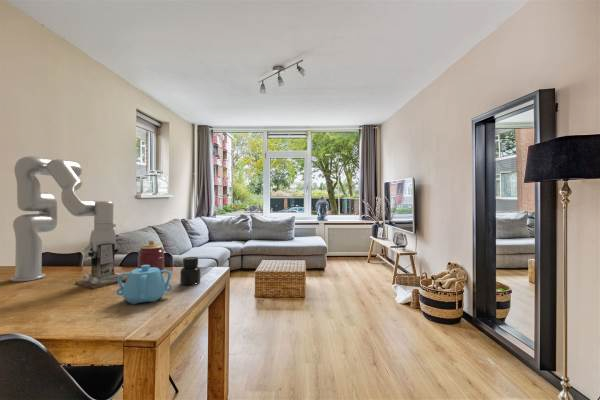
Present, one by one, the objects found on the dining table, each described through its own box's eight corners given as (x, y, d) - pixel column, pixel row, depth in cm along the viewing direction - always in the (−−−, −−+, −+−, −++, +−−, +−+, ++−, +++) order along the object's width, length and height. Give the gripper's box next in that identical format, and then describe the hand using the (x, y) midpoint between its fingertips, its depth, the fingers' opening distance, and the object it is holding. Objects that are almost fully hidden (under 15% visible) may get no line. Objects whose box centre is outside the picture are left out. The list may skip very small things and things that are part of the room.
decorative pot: (111, 302, 113) (112, 266, 113) (150, 291, 127) (150, 259, 127) (137, 310, 105) (138, 272, 105) (175, 297, 119) (176, 263, 119)
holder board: (75, 283, 137) (75, 276, 137) (111, 276, 151) (111, 269, 151) (92, 289, 129) (92, 281, 129) (129, 280, 142) (129, 273, 143)
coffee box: (114, 277, 140) (115, 243, 140) (99, 280, 134) (100, 245, 135) (105, 274, 145) (106, 241, 145) (90, 277, 139) (91, 243, 139)
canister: (131, 275, 153) (132, 241, 153) (148, 269, 166) (148, 238, 166) (154, 276, 151) (154, 242, 151) (169, 270, 164) (169, 239, 164)
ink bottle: (204, 281, 143) (204, 256, 144) (195, 286, 135) (196, 260, 135) (185, 280, 144) (185, 256, 145) (175, 285, 136) (176, 259, 136)
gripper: (118, 225, 149) (117, 260, 149) (78, 227, 134) (78, 267, 134) (126, 226, 145) (125, 262, 145) (87, 228, 130) (86, 269, 130)
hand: (102, 264), depth 140 cm, fingers closed on coffee box, 6 cm apart
